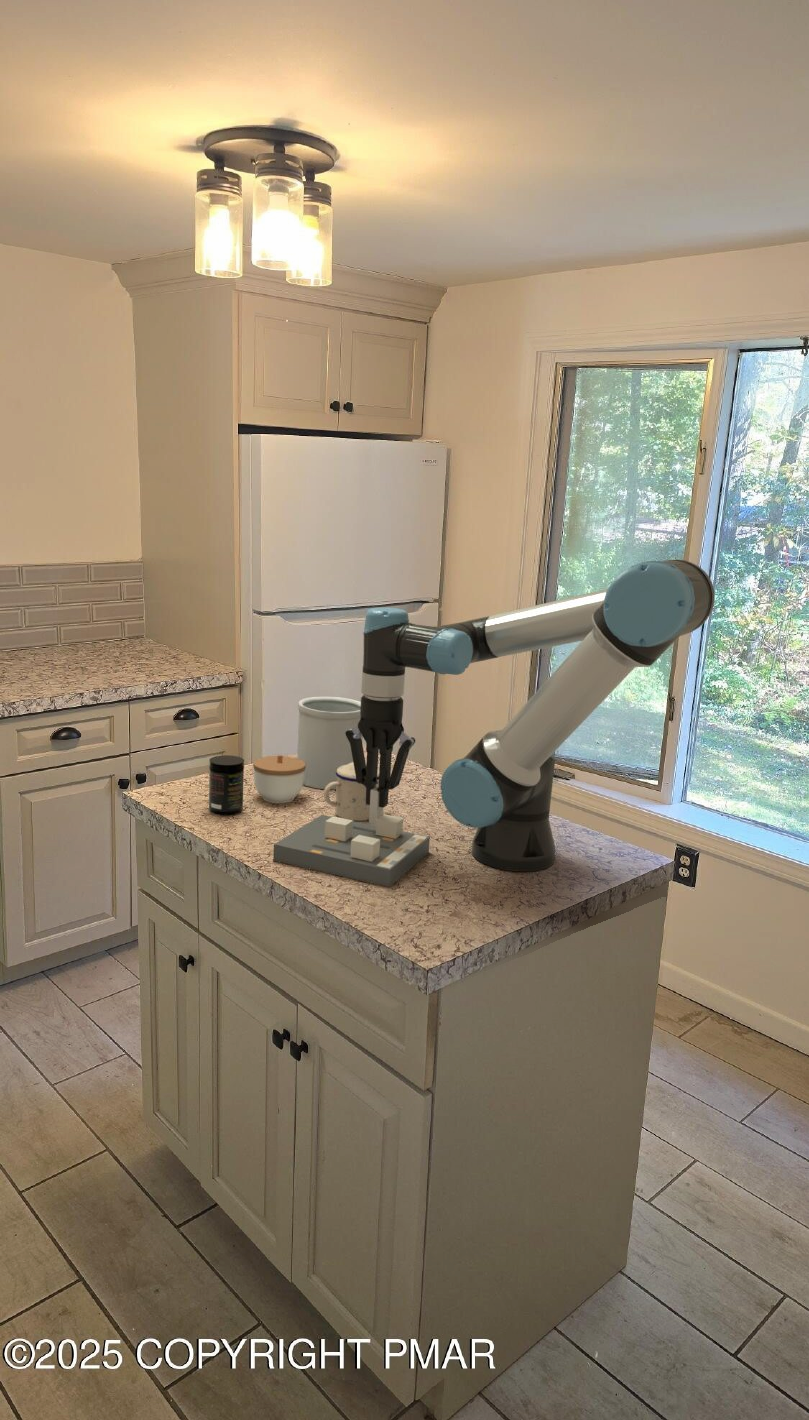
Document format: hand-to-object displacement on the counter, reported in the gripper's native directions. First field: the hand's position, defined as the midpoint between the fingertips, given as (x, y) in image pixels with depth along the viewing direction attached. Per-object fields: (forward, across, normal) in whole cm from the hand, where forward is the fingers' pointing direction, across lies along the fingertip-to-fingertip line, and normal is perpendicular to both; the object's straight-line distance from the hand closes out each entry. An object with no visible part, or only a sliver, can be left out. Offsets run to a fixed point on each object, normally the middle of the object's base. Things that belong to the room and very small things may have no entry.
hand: (375, 822), depth 177 cm
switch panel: (+5, +2, +6) cm, 8 cm away
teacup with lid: (+5, +12, -14) cm, 19 cm away
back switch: (+2, -3, 0) cm, 3 cm away
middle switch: (+2, +4, +6) cm, 8 cm away
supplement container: (+5, +34, -3) cm, 34 cm away
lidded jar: (+5, +28, -15) cm, 32 cm away
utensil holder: (+5, +25, -32) cm, 41 cm away
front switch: (+2, -4, +12) cm, 13 cm away
